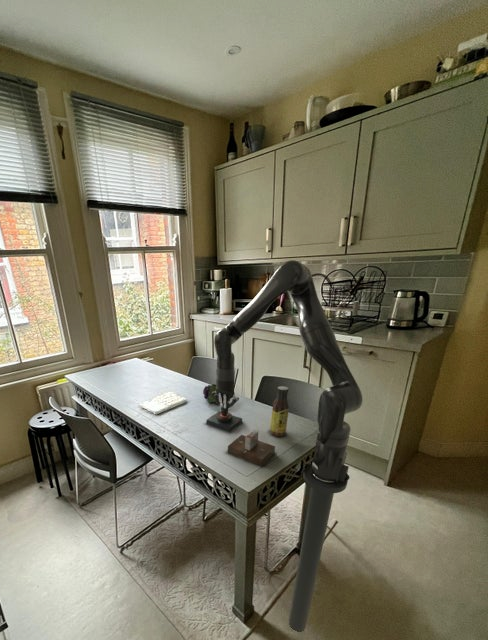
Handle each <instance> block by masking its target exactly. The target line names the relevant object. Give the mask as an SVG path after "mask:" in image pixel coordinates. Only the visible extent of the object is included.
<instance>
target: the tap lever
mask: <svg viewBox="0 0 488 640" xmlns="http://www.w3.org/2000/svg"><path fill="white" fill-rule="evenodd" d="M245 436H246V439H245V449H247V450H249V451H250V450H251V449H252V448H253V447H254V446H255V445H256V444H257V443H258V440H259V431H258V430H255V429H253V430H252V431H250V433H249V434H247V435H245Z"/></svg>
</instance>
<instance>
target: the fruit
mask: <svg viewBox="0 0 488 640" xmlns="http://www.w3.org/2000/svg"><path fill="white" fill-rule="evenodd" d="M214 391H216V383H215V384H208V385H205V386H204V388H203V390H202V394H203V398H204V399H205V400H206V401H207V403H212V402H213V403H216V402H215V400H214V398H213V397H212V395H211V393H213V392H214Z"/></svg>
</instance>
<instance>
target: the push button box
mask: <svg viewBox="0 0 488 640" xmlns="http://www.w3.org/2000/svg"><path fill="white" fill-rule="evenodd" d="M220 414H221V410H219V411H217V412H215V413H214V414H213V415H211V416H209V417H208V418H207V419H206V421H205V422H206V425H208V426H211V427H214V428H216V429H219V430H222V431H224V432H228V433H231V432H232V431H234V430H235V429H237V428H238V427H239V426H240V425H241V424H243V418H242V417H239V416H236V415H233V414H232V412H231V413H230V412H228V415H229V417H227V418H223V417H220Z"/></svg>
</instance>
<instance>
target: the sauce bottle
mask: <svg viewBox="0 0 488 640" xmlns="http://www.w3.org/2000/svg"><path fill="white" fill-rule="evenodd" d="M276 391H277V393H276V399H275V400H274V401H273V403H272V409H271V417H270V425H269V432H270V434H271V435H273V436H275V437H282V436H284V435H285V434H286V431H287V425H288V418H289V410H290V406H289V401H288V394H289V387H287V386H285V385H282V386H277V390H276Z"/></svg>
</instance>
